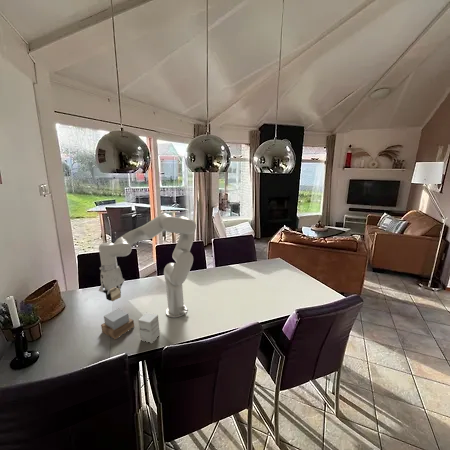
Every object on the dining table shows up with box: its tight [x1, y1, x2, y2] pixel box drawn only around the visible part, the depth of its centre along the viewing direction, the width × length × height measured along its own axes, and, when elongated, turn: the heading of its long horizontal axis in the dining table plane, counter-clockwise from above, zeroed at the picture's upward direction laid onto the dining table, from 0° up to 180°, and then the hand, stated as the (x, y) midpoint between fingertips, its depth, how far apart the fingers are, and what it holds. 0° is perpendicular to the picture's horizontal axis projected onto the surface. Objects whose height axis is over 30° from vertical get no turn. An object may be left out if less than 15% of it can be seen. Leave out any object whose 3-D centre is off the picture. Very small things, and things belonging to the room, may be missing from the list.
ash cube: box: [110, 287, 122, 302], centre depth 138 cm, size 5×5×5 cm
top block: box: [103, 308, 130, 330], centre depth 141 cm, size 9×9×5 cm
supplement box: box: [137, 312, 161, 344], centre depth 134 cm, size 7×7×13 cm
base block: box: [100, 317, 135, 340], centre depth 143 cm, size 12×12×5 cm
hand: (113, 297), depth 139 cm, fingers closed on ash cube, 5 cm apart
